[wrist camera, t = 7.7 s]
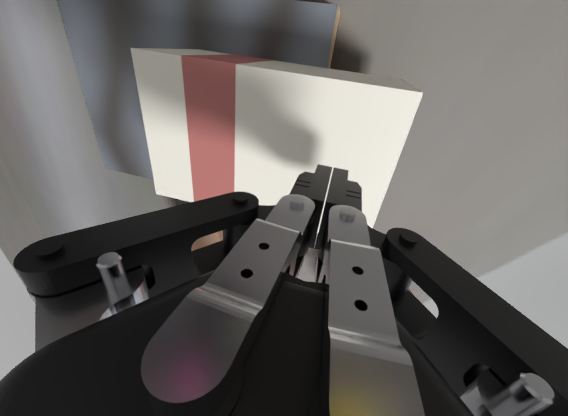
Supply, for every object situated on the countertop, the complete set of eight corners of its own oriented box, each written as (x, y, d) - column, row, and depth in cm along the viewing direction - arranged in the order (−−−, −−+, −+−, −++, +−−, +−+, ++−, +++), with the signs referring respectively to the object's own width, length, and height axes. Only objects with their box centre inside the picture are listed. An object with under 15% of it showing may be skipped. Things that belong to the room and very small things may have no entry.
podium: (340, 10, 19) (337, 4, 16) (306, 199, 27) (300, 213, 25) (84, -17, 22) (49, -26, 20) (125, 158, 31) (104, 168, 28)
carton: (423, 92, 12) (129, 47, 14) (366, 245, 16) (156, 194, 19) (401, 78, 17) (198, 49, 20) (364, 194, 22) (204, 160, 24)
